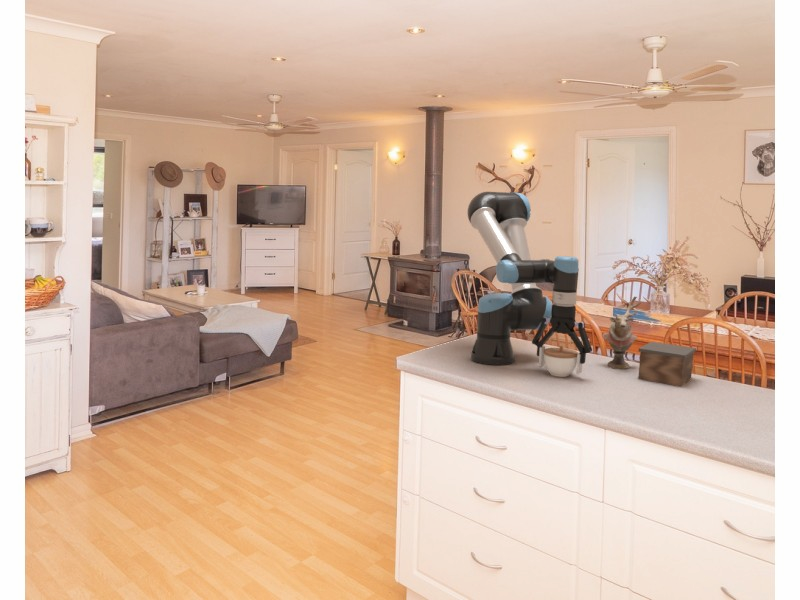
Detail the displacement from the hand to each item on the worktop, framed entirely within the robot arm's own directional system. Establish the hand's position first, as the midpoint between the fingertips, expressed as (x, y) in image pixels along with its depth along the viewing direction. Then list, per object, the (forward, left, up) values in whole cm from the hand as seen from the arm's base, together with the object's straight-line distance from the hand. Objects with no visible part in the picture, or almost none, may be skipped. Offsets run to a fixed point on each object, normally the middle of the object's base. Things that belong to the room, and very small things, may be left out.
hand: (559, 369), depth 207 cm
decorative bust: (+11, +23, -2) cm, 26 cm away
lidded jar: (0, 0, -2) cm, 2 cm away
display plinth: (+28, +19, -2) cm, 34 cm away
